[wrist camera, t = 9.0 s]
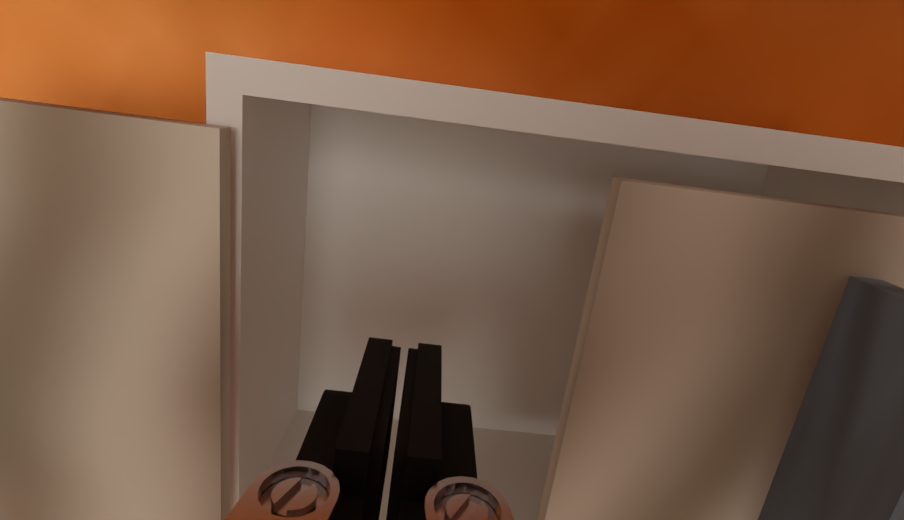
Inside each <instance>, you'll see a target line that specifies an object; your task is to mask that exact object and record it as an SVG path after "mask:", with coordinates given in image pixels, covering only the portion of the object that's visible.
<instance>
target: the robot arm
mask: <svg viewBox="0 0 904 520" xmlns="http://www.w3.org/2000/svg"><path fill="white" fill-rule="evenodd" d="M392 344H393V340H390V339H381V338H372V337H369V339H368V342H367V346H366V349H365V352H364V355H363V359H362V362H361V365H360V368H359V371H358V375H357V378H356V381H355V384H354V388H353V391H352V392H346V391H337V390H327V389H326V390H324V392H323V394H322V397H321V399H320V402H319V404H318V407H317V409H316V412H315V414H314V416H313V419H312V421H311V424H310V426H309V429H308V431H307V434H306V436H305V439H304V441H303V443H302V446H301V448H300V451H299V453H298V456H297V458H296V461H287V462H283V463H280V464H277V465H274V466H272V467H270V468H268V469H266V470H265V471H263V472H261V473H260V474H259V475H258V476H257V477H256V478H255V479H254V480H253V481H252V483H251V484H250V486H249V487H248V488H247V490H246V491H245V492H244V494H243V495H242V497H241V498H240V499H239V501H238V502H237V503H236V505H235V506H234V508H233V509H232V510H231V512H230V513H229V514H228V516H227V517H226V519H225V520H379V515H380V508H381V502H382V495H383V488H384V482H385V475H386V469H387V462H388V455H389V447H390V439H391V430H392V421H393V413H394V404H395V396H396V387H397V379H398V370H399V362H400V353H401V347H396V346H392ZM441 390H442V345H433V344H425V343H418V349H414V348H408V356H407V363H406V370H405V378H404V385H403V392H402V400H401V407H400V414H399V422H398V429H397V436H396V444H395V451H394V459H393V467H392V475H391V483H390V492H389V500H388V508H387V517H386V520H514V518H513V515H512V512H511V510H510V507H509V505H508V503H507V501H506V499H505V498H504V496H503V495H502V494H501V493H500V492H499V491H498V490H497V489H496V488H495V487H493V486H491V485H490V484H488V483H486V482H485V481H482V480H479V479H477V469H476V458H475V447H474V436H473V425H472V415H471V407H470V405H467V404H457V403H448V402H441Z"/></svg>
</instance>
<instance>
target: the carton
mask: <svg viewBox="0 0 904 520" xmlns="http://www.w3.org/2000/svg"><path fill="white" fill-rule="evenodd" d="M206 124H210V125H218V126H225V127H231V240H230V512H231V510H232V509H233V508H234V506H235V505H236V503H237V502H238V501H239V499H240V498H241V497H242V495H243V494H244V492H245V491H246V490H247V488H248V487H249V486H250V484H251V483H252V481H253V480H254V479H255V478H256V477H257V476H258V475H259V474H260V473H261V472H263V471H265V470H266V469H268V468H270V467H272V466H274V465H277V464H280V463H283V462H287V461H296V458H297V456H298V453H299V451H300V448H301V446H302V443H303V441H304V439H305V436H306V434H307V431H308V429H309V426H310V424H311V421H312V419H313V416H314V414H315V412H316V409H317V407H318V404H319V402H320V399H321V397H322V394H323V392H324V390H326V389H327V390H337V391H346V392H352V391H353V388H354V384H355V381H356V378H357V375H358V371H359V368H360V365H361V362H362V359H363V355H364V352H365V349H366V346H367V342H368V339H369V337H372V338H381V339H390V340H393V344H392V346H396V347H401V353H400V362H399V370H398V379H397V387H396V396H395V404H394V413H393V421H392V430H391V439H390V447H389V455H388V462H387V469H386V475H385V482H384V488H383V495H382V502H381V508H380V515H379V520H386V517H387V508H388V500H389V492H390V483H391V475H392V467H393V459H394V451H395V444H396V436H397V429H398V422H399V414H400V407H401V400H402V392H403V385H404V378H405V370H406V363H407V356H408V348H414V349H418V343H425V344H433V345H442V390H441V402H448V403H457V404H467V405H470V407H471V415H472V425H473V436H474V447H475V458H476V469H477V479H479V480H482V481H485V482H486V483H488V484H490V485H491V486H493V487H495V488H496V489H497V490H498V491H499V492H500V493H501V494H502V495H503V496H504V498H505V499H506V501H507V503H508V505H509V507H510V510H511V512H512V515H513V518H514V520H537V518H538V513H539V509H540V504H541V500H542V495H543V491H544V486H545V481H546V477H547V472H548V468H549V463H550V459H551V454H552V450H553V445H554V441H555V436H556V432H557V427H558V423H559V418H560V413H561V409H562V404H563V400H564V395H565V391H566V386H567V382H568V377H569V373H570V368H571V364H572V359H573V355H574V350H575V346H576V341H577V336H578V332H579V327H580V323H581V318H582V314H583V309H584V305H585V300H586V296H587V291H588V287H589V282H590V278H591V273H592V268H593V264H594V259H595V255H596V250H597V246H598V241H599V237H600V232H601V228H602V223H603V219H604V214H605V210H606V205H607V201H608V196H609V191H610V187H611V182H612V178H613V177H619V178H627V179H635V180H643V181H650V182H658V183H666V184H674V185H681V186H689V187H697V188H704V189H712V190H720V191H728V192H735V193H743V194H751V195H759V196H766V197H774V198H782V199H790V200H797V201H805V202H813V203H820V204H828V205H836V206H844V207H851V208H859V209H867V210H875V211H882V212H890V213H898V214H904V147H898V146H891V145H883V144H876V143H869V142H862V141H854V140H847V139H840V138H832V137H825V136H818V135H811V134H803V133H796V132H789V131H781V130H774V129H767V128H760V127H752V126H745V125H738V124H730V123H723V122H716V121H709V120H701V119H694V118H687V117H679V116H672V115H665V114H658V113H650V112H643V111H636V110H628V109H621V108H614V107H607V106H599V105H592V104H585V103H577V102H570V101H563V100H556V99H548V98H541V97H534V96H526V95H519V94H512V93H505V92H497V91H490V90H483V89H475V88H468V87H461V86H454V85H446V84H439V83H432V82H424V81H417V80H410V79H403V78H395V77H388V76H381V75H373V74H366V73H359V72H351V71H344V70H337V69H330V68H322V67H315V66H308V65H300V64H293V63H286V62H279V61H271V60H264V59H257V58H249V57H242V56H235V55H228V54H220V53H213V52H206Z"/></svg>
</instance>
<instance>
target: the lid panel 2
mask: <svg viewBox="0 0 904 520" xmlns="http://www.w3.org/2000/svg"><path fill="white" fill-rule="evenodd" d="M537 520H904V214H898V213H890V212H882V211H875V210H867V209H859V208H851V207H844V206H836V205H828V204H820V203H813V202H805V201H797V200H790V199H782V198H774V197H766V196H759V195H751V194H743V193H735V192H728V191H720V190H712V189H704V188H697V187H689V186H681V185H674V184H666V183H658V182H650V181H643V180H635V179H627V178H619V177H613V178H612V182H611V187H610V191H609V196H608V201H607V205H606V210H605V214H604V219H603V223H602V228H601V232H600V237H599V241H598V246H597V250H596V255H595V259H594V264H593V268H592V273H591V278H590V282H589V287H588V291H587V296H586V300H585V305H584V309H583V314H582V318H581V323H580V327H579V332H578V336H577V341H576V346H575V350H574V355H573V359H572V364H571V368H570V373H569V377H568V382H567V386H566V391H565V395H564V400H563V404H562V409H561V413H560V418H559V423H558V427H557V432H556V436H555V441H554V445H553V450H552V454H551V459H550V463H549V468H548V472H547V477H546V481H545V486H544V491H543V495H542V500H541V504H540V509H539V513H538V518H537Z"/></svg>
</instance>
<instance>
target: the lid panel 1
mask: <svg viewBox="0 0 904 520" xmlns="http://www.w3.org/2000/svg"><path fill="white" fill-rule="evenodd" d="M230 240H231V127H225V126H218V125H210V124H202V123H194V122H187V121H179V120H171V119H164V118H156V117H148V116H140V115H133V114H125V113H117V112H109V111H102V110H94V109H86V108H78V107H71V106H63V105H55V104H48V103H40V102H32V101H24V100H17V99H9V98H1V97H0V520H225V519H226V517H227V516H228V514H229V513H230Z"/></svg>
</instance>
